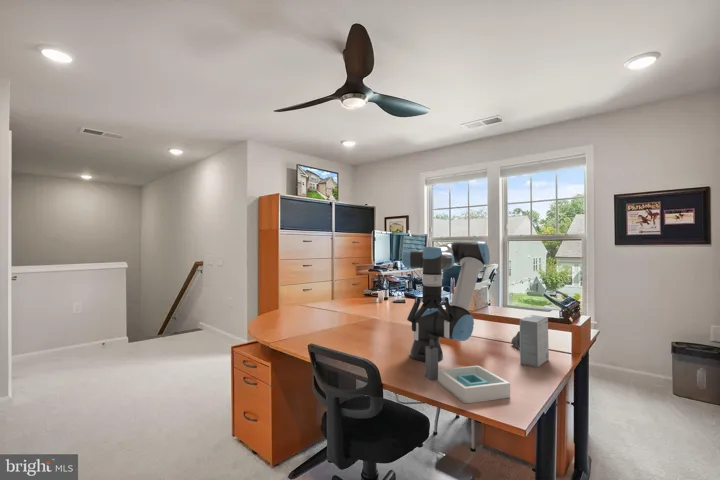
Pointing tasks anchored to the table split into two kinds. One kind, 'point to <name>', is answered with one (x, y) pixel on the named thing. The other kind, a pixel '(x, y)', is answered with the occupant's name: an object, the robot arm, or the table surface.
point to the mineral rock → (516, 340)
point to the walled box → (473, 384)
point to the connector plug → (431, 361)
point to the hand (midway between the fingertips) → (431, 338)
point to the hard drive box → (534, 340)
